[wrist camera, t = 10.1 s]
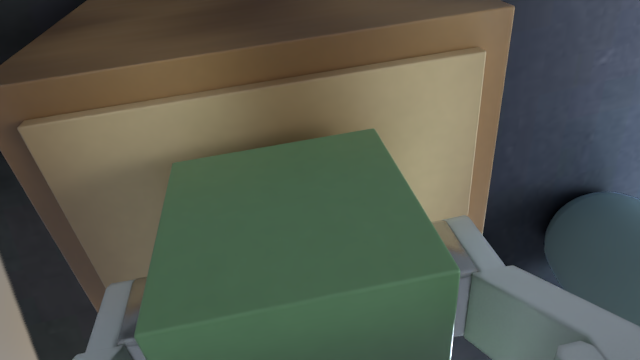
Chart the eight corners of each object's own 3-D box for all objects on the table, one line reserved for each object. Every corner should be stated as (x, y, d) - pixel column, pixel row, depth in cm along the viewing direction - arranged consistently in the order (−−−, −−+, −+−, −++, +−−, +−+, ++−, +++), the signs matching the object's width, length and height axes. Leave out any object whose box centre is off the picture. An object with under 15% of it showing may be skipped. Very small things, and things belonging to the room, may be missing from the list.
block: (219, 301, 12) (213, 486, 8) (171, 161, 9) (131, 337, 6) (379, 269, 12) (444, 432, 9) (374, 127, 10) (462, 270, 6)
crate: (159, 150, 23) (106, 345, 13) (101, -12, 18) (-47, 98, 9) (380, 112, 24) (485, 267, 14) (376, -50, 19) (525, 9, 10)
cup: (603, 255, 34) (721, 371, 26) (512, 263, 33) (606, 387, 25) (649, 171, 30) (807, 277, 22) (547, 176, 29) (674, 291, 20)
